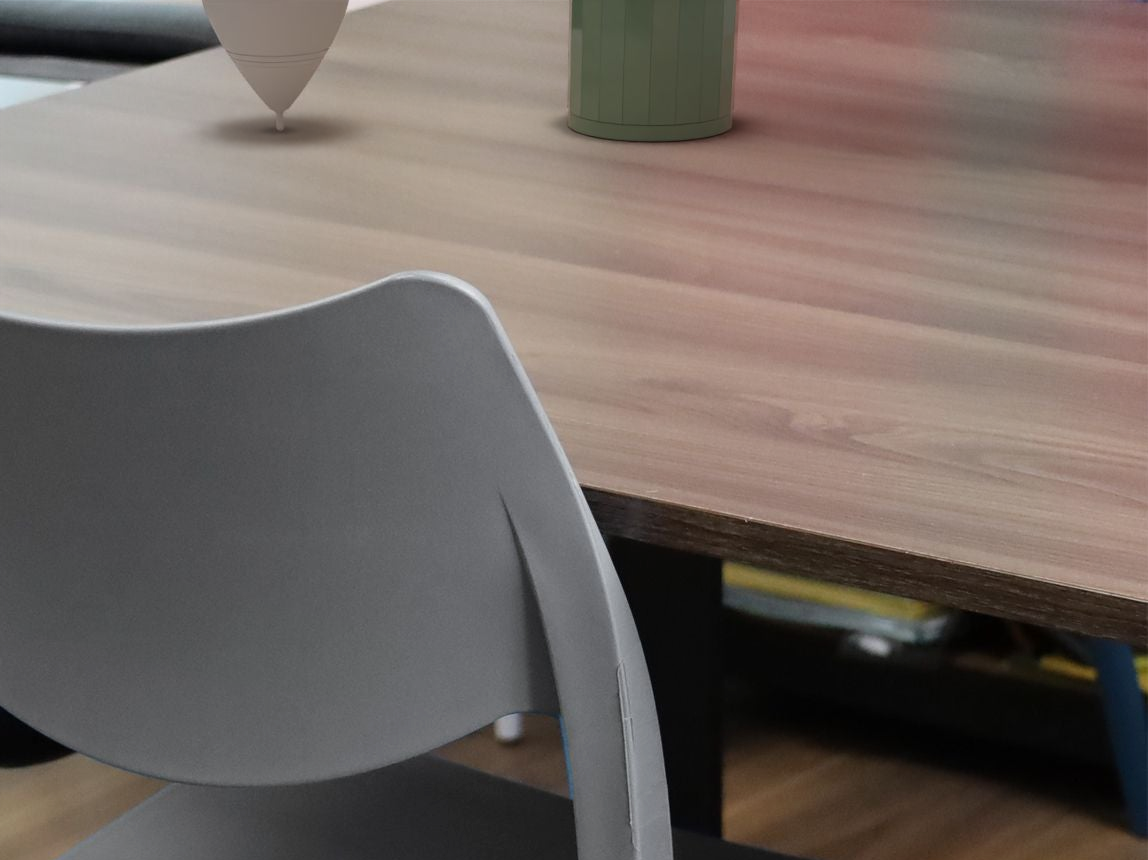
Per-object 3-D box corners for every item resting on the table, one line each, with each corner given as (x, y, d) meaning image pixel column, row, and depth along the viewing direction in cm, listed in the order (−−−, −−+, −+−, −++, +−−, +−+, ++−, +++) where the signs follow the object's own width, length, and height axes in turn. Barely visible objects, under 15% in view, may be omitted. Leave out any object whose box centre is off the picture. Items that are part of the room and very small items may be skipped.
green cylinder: (760, 118, 124) (772, -102, 119) (685, 148, 117) (694, -83, 113) (617, 102, 128) (623, -110, 123) (537, 130, 122) (540, -93, 117)
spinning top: (197, 120, 125) (186, -118, 120) (338, 112, 127) (332, -123, 121) (218, 149, 119) (206, -101, 113) (366, 141, 120) (361, -107, 115)
